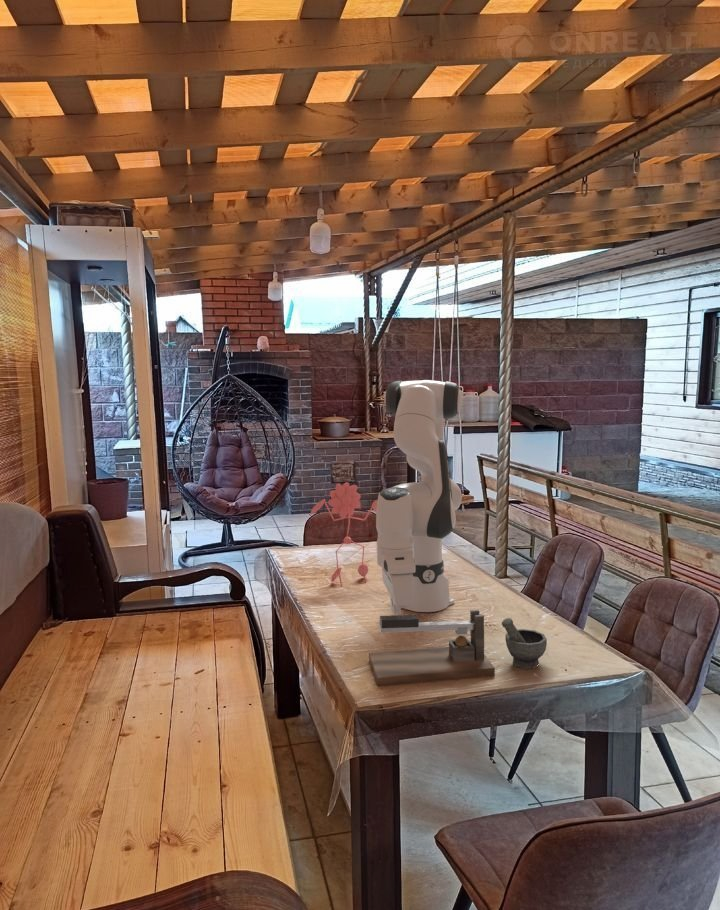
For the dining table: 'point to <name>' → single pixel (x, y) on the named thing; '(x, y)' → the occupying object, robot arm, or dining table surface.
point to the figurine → (345, 504)
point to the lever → (421, 624)
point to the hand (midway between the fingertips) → (396, 612)
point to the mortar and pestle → (524, 645)
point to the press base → (435, 661)
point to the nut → (461, 641)
